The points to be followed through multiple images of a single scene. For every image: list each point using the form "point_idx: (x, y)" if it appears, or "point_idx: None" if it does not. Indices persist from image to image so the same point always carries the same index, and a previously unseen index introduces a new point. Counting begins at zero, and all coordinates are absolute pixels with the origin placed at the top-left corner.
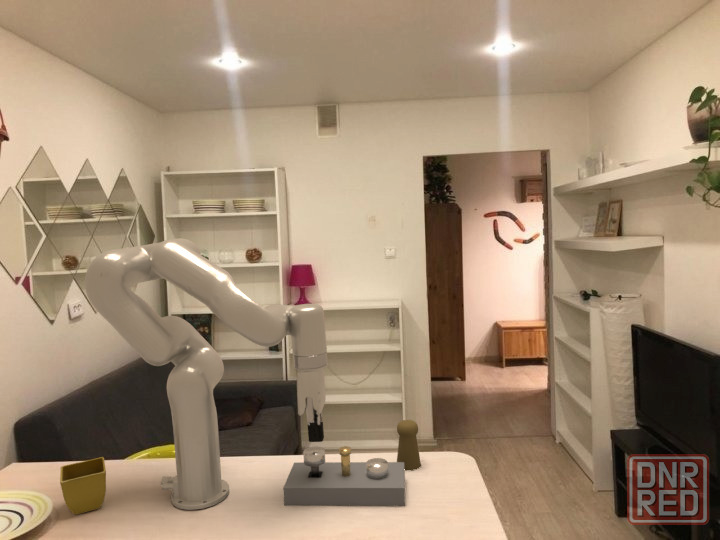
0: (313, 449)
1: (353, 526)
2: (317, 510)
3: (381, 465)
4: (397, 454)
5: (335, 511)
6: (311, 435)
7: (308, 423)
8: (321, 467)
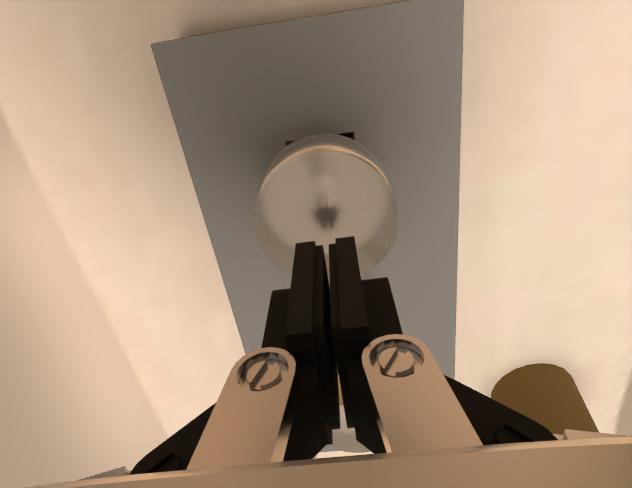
0: (349, 214)
1: (141, 314)
2: (189, 190)
3: (338, 439)
4: (557, 395)
5: (202, 249)
6: (269, 305)
7: (228, 387)
8: (402, 178)
